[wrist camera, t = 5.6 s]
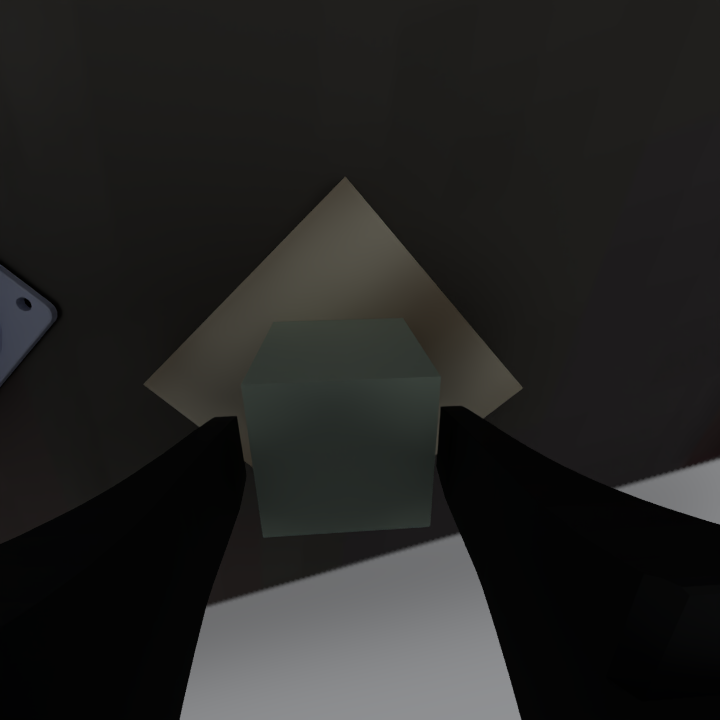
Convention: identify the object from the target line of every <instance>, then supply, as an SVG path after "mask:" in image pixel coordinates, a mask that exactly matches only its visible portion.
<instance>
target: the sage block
mask: <svg viewBox="0 0 720 720" xmlns="http://www.w3.org/2000/svg"><path fill="white" fill-rule="evenodd" d="M440 383H441V376H440V374H439V373H438V371H437V370H436V368H435V367H434V365H433V364H432V362H431V360H430V359H429V357H428V356H427V354H426V353H425V351H424V350H423V348H422V347H421V345H420V343H419V342H418V340H417V339H416V337H415V336H414V334H413V333H412V331H411V330H410V328H409V326H408V325H407V323H406V322H405V320H404V319H403V318H382V319H351V320H319V321H288V322H273V324H272V326H271V328H270V329H269V331H268V333H267V335H266V337H265V339H264V341H263V343H262V345H261V347H260V349H259V351H258V353H257V355H256V357H255V358H254V360H253V362H252V364H251V366H250V368H249V370H248V372H247V374H246V376H245V378H244V380H243V382H242V384H241V389H242V396H243V403H244V410H245V417H246V423H247V430H248V437H249V444H250V451H251V458H252V465H253V472H254V478H255V485H256V492H257V499H258V506H259V513H260V520H261V527H262V534H263V537H278V536H294V535H309V534H325V533H340V532H356V531H371V530H387V529H402V528H418V527H430V519H431V505H432V492H433V478H434V465H435V451H436V437H437V424H438V410H439V396H440Z"/></svg>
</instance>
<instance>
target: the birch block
mask: <svg viewBox="0 0 720 720" xmlns="http://www.w3.org/2000/svg"><path fill="white" fill-rule="evenodd" d="M382 318H403V319H404V320H405V322H406V323H407V325H408V326H409V328H410V330H411V331H412V333H413V334H414V336H415V337H416V339H417V340H418V342H419V343H420V345H421V347H422V348H423V350H424V351H425V353H426V354H427V356H428V357H429V359H430V360H431V362H432V364H433V365H434V367H435V368H436V370H437V371H438V373H439V374H440V376H441V383H440V396H439V410H438V424H437V437H436V451H435V455H436V454H437V450H438V436H439V422H440V408H441V407H442V406H463V407H465V408H467V409H469V410H470V411H472V412H474V413H475V414H477V415H478V416H480V417H481V418H484V417H486V416H487V415H488V414H490V413H491V412H492V411H494V410H495V409H496V408H497V407H499V406H500V405H501V404H503V403H504V402H505V401H507V400H508V399H509V398H510V397H512V396H513V395H514V394H516V393H517V392H518V391H520V390H521V389H522V386H521V385H520V384H519V383H518V382H517V381H516V379H515V378H514V377H513V376H512V375H511V373H510V372H509V371H508V370H507V369H506V367H505V366H504V365H503V364H502V363H501V361H500V360H499V359H498V358H497V357H496V355H495V354H494V353H493V352H492V351H491V350H490V348H489V347H488V346H487V345H486V344H485V342H484V341H483V340H482V339H481V338H480V336H479V335H478V334H477V333H476V332H475V330H474V329H473V328H472V327H471V326H470V325H469V323H468V322H467V321H466V320H465V319H464V317H463V316H462V315H461V314H460V313H459V311H458V310H457V309H456V308H455V307H454V305H453V304H452V303H451V302H450V301H449V299H448V298H447V297H446V296H445V295H444V294H443V292H442V291H441V290H440V289H439V288H438V286H437V285H436V284H435V283H434V282H433V280H432V279H431V278H430V277H429V276H428V274H427V273H426V272H425V271H424V270H423V269H422V267H421V266H420V265H419V264H418V263H417V261H416V260H415V259H414V258H413V257H412V255H411V254H410V253H409V252H408V251H407V249H406V248H405V247H404V246H403V245H402V243H401V242H400V241H399V240H398V239H397V238H396V236H395V235H394V234H393V233H392V232H391V230H390V229H389V228H388V227H387V226H386V224H385V223H384V222H383V221H382V220H381V218H380V217H379V216H378V215H377V214H376V213H375V211H374V210H373V209H372V208H371V207H370V205H369V204H368V203H367V202H366V201H365V199H364V198H363V197H362V196H361V195H360V193H359V192H358V191H357V190H356V189H355V187H354V186H353V185H352V184H351V183H350V182H349V180H348V179H347V178H346V177H344V178H343V179H342V180H341V181H340V183H339V184H338V185H337V186H336V187H335V188H334V189H333V190H332V191H331V192H330V193H329V194H328V195H327V196H326V197H325V198H324V199H323V200H322V201H321V202H320V203H319V204H318V205H317V206H316V207H315V208H314V209H313V210H312V211H311V212H310V213H309V214H308V215H307V216H306V217H305V219H304V220H303V221H302V222H301V223H300V224H299V225H298V226H297V227H296V228H295V229H294V230H293V231H292V232H291V233H290V234H289V235H288V236H287V237H286V238H285V239H284V240H283V241H282V242H281V243H280V244H279V245H278V246H277V247H276V248H275V249H274V250H273V251H272V252H271V253H270V255H269V256H268V257H267V258H266V259H265V260H264V261H263V262H262V263H261V264H260V265H259V266H258V267H257V268H256V269H255V270H254V271H253V272H252V273H251V274H250V275H249V276H248V277H247V278H246V279H245V280H244V281H243V282H242V283H241V284H240V285H239V286H238V287H237V288H236V289H235V291H234V292H233V293H232V294H231V295H230V296H229V297H228V298H227V299H226V300H225V301H224V302H223V303H222V304H221V305H220V306H219V307H218V308H217V309H216V310H215V311H214V312H213V313H212V314H211V315H210V316H209V317H208V318H207V319H206V320H205V321H204V322H203V323H202V324H201V325H200V327H199V328H198V329H197V330H196V331H195V332H194V333H193V334H192V335H191V336H190V337H189V338H188V339H187V340H186V341H185V342H184V343H183V344H182V345H181V346H180V347H179V348H178V349H177V350H176V351H175V352H174V353H173V354H172V355H171V356H170V357H169V358H168V359H167V360H166V361H165V363H164V364H163V365H162V366H161V367H160V368H159V369H158V370H157V371H156V372H155V373H154V374H153V375H152V376H151V377H150V378H149V379H148V380H147V381H146V382H145V383H144V384H143V385H145V386H146V387H147V388H149V389H150V390H151V391H153V392H154V393H155V394H157V395H158V396H159V397H161V398H162V399H163V400H164V401H166V402H167V403H168V404H170V405H171V406H172V407H174V408H175V409H176V410H178V411H179V412H180V413H182V414H183V415H184V416H186V417H187V418H188V419H190V420H191V421H192V422H194V423H195V424H196V425H198V426H199V427H200V426H202V425H203V424H205V423H206V422H207V421H209V420H211V419H212V418H214V417H224V416H237V419H238V426H239V432H240V438H241V445H242V451H243V457H244V461H245V462H246V463H248V464H249V465H250V466H252V467H253V465H252V458H251V451H250V444H249V437H248V430H247V423H246V417H245V410H244V403H243V396H242V389H241V384H242V382H243V380H244V378H245V376H246V374H247V372H248V370H249V368H250V366H251V364H252V362H253V360H254V358H255V357H256V355H257V353H258V351H259V349H260V347H261V345H262V343H263V341H264V339H265V337H266V335H267V333H268V331H269V329H270V328H271V326H272V324H273V322H288V321H319V320H351V319H382Z"/></svg>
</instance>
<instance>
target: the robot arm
mask: <svg viewBox="0 0 720 720" xmlns="http://www.w3.org/2000/svg"><path fill="white" fill-rule="evenodd" d="M24 298H26V299H28V300H29V301H30V302H31V305H32V307H31V308H30V307H28V306H27V305H26V304H25V301H24ZM56 319H57V310H56V308H55V306H54V305H53V304H52V303H51V302H49V301H48V300H47V299H45V298H44V297H43V296H41V295H40V294H39V293H38V292H36V291H35V290H34V289H32V288H31V287H30V286H28V285H27V284H26V283H24V282H23V281H22V280H20V279H19V278H18V277H16V276H15V275H14V274H12V273H11V272H10V271H9V270H7V269H6V268H5V267H3V266H2V265H1V264H0V387H1V386H2V384H3V383H4V382H5V381H6V380H7V378H8V377H9V376H10V375H11V374H12V372H13V371H14V370H15V369H16V367H17V366H18V365H19V364H20V363H21V361H22V360H23V359H24V358H25V357H26V355H27V354H28V353H29V352H30V351H31V349H32V348H33V347H34V346H35V345H36V343H37V342H38V341H39V340H40V339H41V337H42V336H43V335H44V334H45V333H46V331H47V330H48V329H49V328H50V327H51V325H52V324H53V323H54V322H55V321H56ZM436 466H437V470H438V474H439V477H440V481H441V485H442V488H443V492H444V495H445V498H446V501H447V503H448V506H449V508H450V510H451V513H452V515H453V517H454V520H455V522H456V525H457V527H458V529H459V532H460V534H461V536H462V538H463V541H464V543H465V546H466V548H467V550H468V553H469V555H470V557H471V560H472V562H473V565H474V567H475V569H476V572H477V574H478V577H479V580H480V582H481V585H482V588H483V590H484V594H485V597H486V600H487V603H488V606H489V610H490V613H491V616H492V619H493V623H494V626H495V629H496V632H497V636H498V639H499V643H500V646H501V649H502V653H503V656H504V659H505V663H506V666H507V670H508V673H509V676H510V680H511V684H512V687H513V691H514V694H515V698H516V701H517V705H518V709H519V713H520V716H521V720H720V525H719V524H716V523H712V522H709V521H706V520H702V519H699V518H696V517H693V516H690V515H687V514H684V513H680V512H677V511H674V510H671V509H668V508H665V507H662V506H659V505H656V504H653V503H651V502H648V501H645V500H642V499H639V498H637V497H634V496H632V495H629V494H626V493H624V492H621V491H619V490H616V489H614V488H611V487H608V486H606V485H604V484H601V483H599V482H597V481H594V480H592V479H590V478H588V477H586V476H583V475H581V474H579V473H577V472H575V471H573V470H571V469H569V468H566V467H564V466H562V465H560V464H558V463H556V462H554V461H552V460H551V459H549V458H547V457H545V456H543V455H542V454H540V453H538V452H536V451H534V450H533V449H531V448H529V447H527V446H526V445H524V444H522V443H521V442H519V441H517V440H516V439H514V438H512V437H511V436H509V435H508V434H506V433H504V432H503V431H501V430H500V429H498V428H497V427H495V426H494V425H492V424H491V423H489V422H487V421H486V420H484V419H483V418H481V417H480V416H478V415H477V414H475V413H474V412H472V411H470V410H469V409H467V408H465V407H463V406H442V407H441V408H440V422H439V436H438V450H437V465H436ZM245 481H246V470H245V463H244V457H243V451H242V445H241V438H240V432H239V426H238V419H237V416H224V417H214V418H212V419H211V420H209V421H207V422H206V423H205V424H203V425H202V426H200V427H199V428H198V429H196V430H195V431H194V432H192V433H191V434H190V435H188V436H187V437H185V438H184V439H183V440H181V441H180V442H179V443H177V444H176V445H175V446H173V447H172V448H170V449H169V450H168V451H166V452H165V453H164V454H162V455H161V456H159V457H158V458H156V459H155V460H153V461H152V462H150V463H149V464H147V465H146V466H144V467H143V468H141V469H140V470H138V471H137V472H136V473H134V474H133V475H131V476H130V477H128V478H127V479H125V480H123V481H122V482H120V483H119V484H117V485H115V486H114V487H112V488H110V489H109V490H107V491H105V492H103V493H102V494H100V495H98V496H96V497H95V498H93V499H91V500H89V501H87V502H86V503H84V504H82V505H80V506H78V507H77V508H75V509H73V510H71V511H69V512H67V513H65V514H63V515H61V516H59V517H57V518H55V519H53V520H51V521H49V522H46V523H44V524H42V525H40V526H38V527H36V528H34V529H32V530H30V531H28V532H26V533H24V534H22V535H20V536H18V537H16V538H13V539H11V540H9V541H6V542H4V543H2V544H0V720H180V715H181V710H182V705H183V701H184V696H185V692H186V687H187V683H188V679H189V675H190V670H191V666H192V662H193V657H194V653H195V649H196V645H197V641H198V637H199V633H200V629H201V625H202V621H203V617H204V613H205V609H206V605H207V602H208V599H209V596H210V592H211V589H212V586H213V583H214V580H215V578H216V575H217V572H218V569H219V566H220V564H221V561H222V558H223V555H224V552H225V550H226V547H227V544H228V541H229V538H230V535H231V533H232V530H233V527H234V524H235V521H236V518H237V515H238V512H239V509H240V505H241V501H242V496H243V491H244V486H245Z"/></svg>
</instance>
